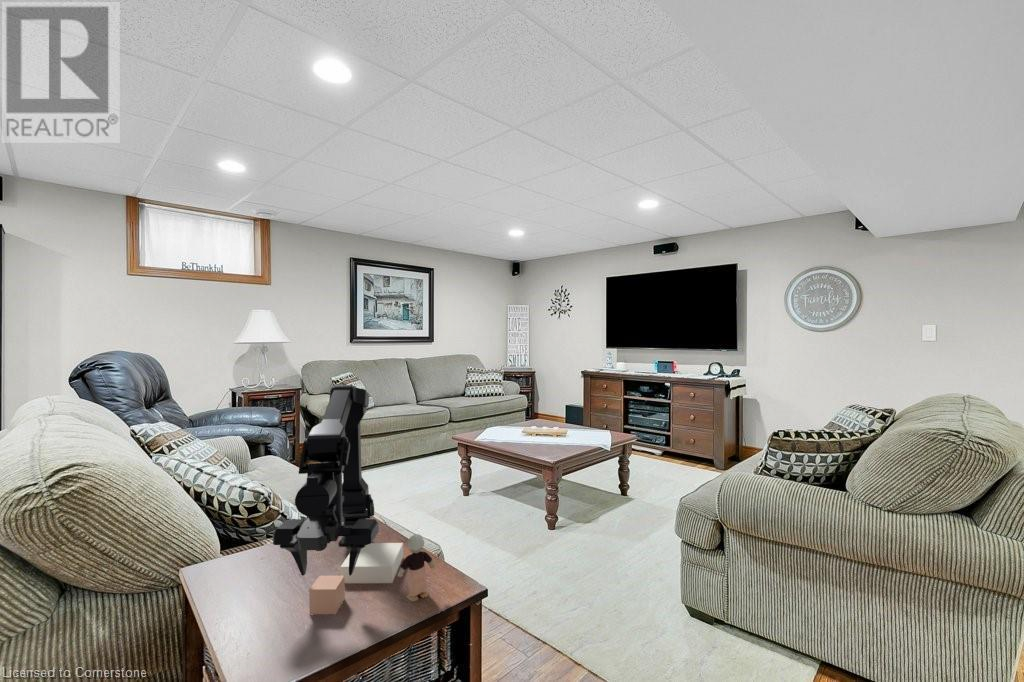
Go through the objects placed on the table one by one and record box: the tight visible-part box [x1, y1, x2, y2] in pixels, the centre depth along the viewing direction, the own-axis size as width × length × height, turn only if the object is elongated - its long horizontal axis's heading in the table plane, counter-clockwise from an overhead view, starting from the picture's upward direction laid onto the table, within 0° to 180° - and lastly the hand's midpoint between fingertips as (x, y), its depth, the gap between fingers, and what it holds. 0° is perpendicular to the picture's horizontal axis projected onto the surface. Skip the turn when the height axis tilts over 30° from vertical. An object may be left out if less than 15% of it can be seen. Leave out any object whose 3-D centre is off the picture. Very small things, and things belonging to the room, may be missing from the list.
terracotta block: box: [308, 575, 346, 615], centre depth 92 cm, size 5×5×5 cm
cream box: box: [340, 542, 404, 584], centre depth 106 cm, size 11×11×4 cm
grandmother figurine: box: [397, 533, 436, 603], centre depth 96 cm, size 8×4×13 cm, turn 135°
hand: (327, 574), depth 92 cm, fingers open, 9 cm apart
